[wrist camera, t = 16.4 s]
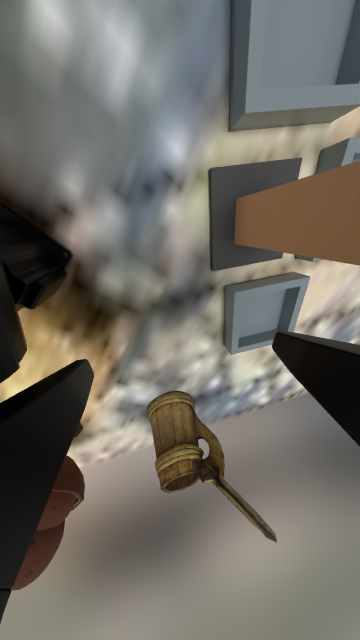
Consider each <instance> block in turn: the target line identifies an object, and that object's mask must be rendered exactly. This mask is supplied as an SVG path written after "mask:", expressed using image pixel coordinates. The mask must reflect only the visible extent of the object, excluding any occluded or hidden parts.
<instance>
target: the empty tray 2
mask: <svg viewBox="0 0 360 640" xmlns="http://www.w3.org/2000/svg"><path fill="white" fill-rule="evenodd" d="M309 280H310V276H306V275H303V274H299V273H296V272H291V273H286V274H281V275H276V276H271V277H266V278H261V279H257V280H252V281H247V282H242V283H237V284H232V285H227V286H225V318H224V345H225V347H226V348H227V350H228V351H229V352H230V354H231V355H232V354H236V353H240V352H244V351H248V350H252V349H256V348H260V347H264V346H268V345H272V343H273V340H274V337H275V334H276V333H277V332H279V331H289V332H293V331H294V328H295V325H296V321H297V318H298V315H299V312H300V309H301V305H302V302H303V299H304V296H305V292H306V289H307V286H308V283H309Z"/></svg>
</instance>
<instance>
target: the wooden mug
mask: <svg viewBox="0 0 360 640" xmlns="http://www.w3.org/2000/svg"><path fill="white" fill-rule="evenodd" d="M148 417H149V421H150V423H151V427H152V433H153V439H154V445H155V451H156V458H157V460H156V462H155V467H156V471H157V475H158V477H159V479H160V485H161V489H162V490H163V491H164V492H167V493H170V492H175V491H179V490H182V489H185V488H187V487H190V486H192V485H193V484H195V483H196V482H197V481H198V480H199V479H201V481H202V482H203V483H207V482H213V484H214V485H216V487H217V488H218V489H219V490H220V491H221V492H222V493H223V494H224V495H225V496H226V497H227V498H228V499H229V500H230V501H231V502H232V503H233V504H234V505H235V506H236V507H237V508H238V509H239V510H240V511H241V512H242V513H243V514H244V515H245V516H246V518H248V520H249V521H250V522H251V523H252V524H253V525H254V526H256V527H257V528H258V529H259V530H260V531H261V532H262V533H263V534H264V535H265V536H266V537H267V538H269V539H271V540H273V541H275V542H277V540H276V534H275V533H274V531H273V530H272V529H271V528H270V527H269V526H268V524H267V523H266V522H265V521H264V520H263V519H262V518H261V516H260V515H259V514H258V513H257V512H256V511H255V510H254V509H253V508H252V507H251V506H250V505H249V504H248V503H247V502H246V501H245V500H244V499H243V498H242V497H241V496H240V495H239V494H238V493H237V492H236V491H235V490H234V489H233V488H232V487H231V486H230V485H229V484H228V483H227V482H226V481H225V480H224V467H225V463H224V454H223V451H222V447H221V445H220V443H219V441H218V439H217V437H216V436H215V435H214V434H213V433H212V432H211V431H210V430H209V429H208V428H207V427H206V426H205V425H204V424H203V423H202V422H201V421H200V420H199V419H198V418H197V415H196V413H195V405H194V400H193V398H191V397H190V396H189V395H187V394H185V393H182V392H171V393H166V394H163V395H161V396H159V397H157V398H156V399H155V400H153V401H152V402H151V403H150V405H149V406H148ZM198 439H205V440H206V442H207V443H208V444H209V448H210V450H209V455H208V457H207V458H205V459H202V456H203V454H204V452H203V450H202V449H201V448H199V444H198Z"/></svg>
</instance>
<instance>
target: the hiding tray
mask: <svg viewBox="0 0 360 640" xmlns="http://www.w3.org/2000/svg"><path fill="white" fill-rule="evenodd" d="M357 161H360V137H353V138H348V139H346V140H344V141H341V142H339V143H337V144H335V145H332V146H330V147H328V148H325V149H323V150H321V153H320V157H319V161H318V165H317V169H316V173H315V174H318V173H322V172H325V171H328V170H331V169H334V168H338V167H341V166H344V165H347V164H350V163H354V162H357ZM295 258H297V259H302V260H307V261H312V262H313V261H318V260H323V259H319V258H314V257H308V256H302V255H296V256H295Z"/></svg>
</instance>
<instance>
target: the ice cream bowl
mask: <svg viewBox="0 0 360 640" xmlns="http://www.w3.org/2000/svg"><path fill="white" fill-rule="evenodd" d="M82 429H83V427H82V425H81V423H79V425H78V427H77V430H76V432H75V435H74V437H76V436H78V434H79V433H80V432H81V430H82ZM74 437H73V438H74ZM84 489H85V484H84V478H83V474H82V472H81V471H80V469H79V468H78V466H77V464H76V463H75V462H74V460H73V459H71V458H70V457H69V456H66V457H65V460H64V462H63V465H62V467H61V470H60V472H59V475H58V477H57V480H56V482H55V484H54V487H53V489H52V492H51V494H50V497H49V499H48V502H47V504H46V507H45V509H44V512H43V514H42V517H41V519H40V522H39V524H38V527H37V529H36V532H35V534H34V537H33V539H32V542H31V544H30V547H29V549H28V552H27V554H26V557H25V559H24V561H23V564H22V566H21V569H20V571H19V574H18V576H17V579H16V581H15V584H14V586H13V588H12V589H11V590H19V589H22V588H24V587H26V586H27V585H29V584H30V583H32V582H33V581H34V580H35V579H36V578H37V577H39V575H40V574H41V573H42V572H43V571H44V570H45V569H46V568H47V566H48V564H49V563H50V561H51V560H52V558H53V556H54V554H55V553H56V551H57V549H58V547H59V544H60V542H61V539H62V536H63V532H64V524H65V518H66V517H67V516H68V514H69V513H70V511H72V510H74V509H75V508H76V507H77V506H78V505H79V504H80V503H81V502H82V501H83V500H84Z"/></svg>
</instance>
